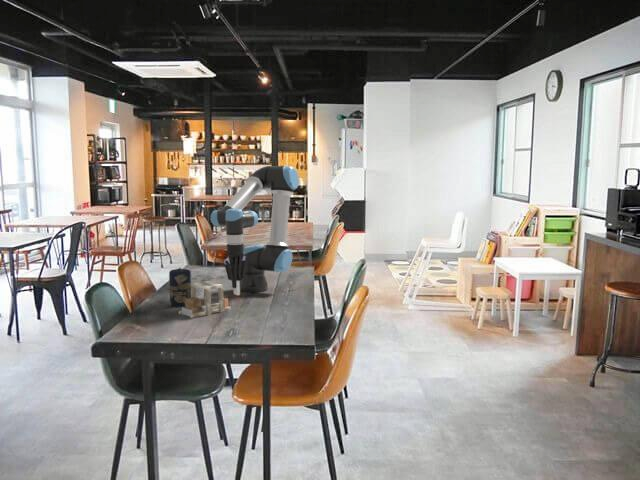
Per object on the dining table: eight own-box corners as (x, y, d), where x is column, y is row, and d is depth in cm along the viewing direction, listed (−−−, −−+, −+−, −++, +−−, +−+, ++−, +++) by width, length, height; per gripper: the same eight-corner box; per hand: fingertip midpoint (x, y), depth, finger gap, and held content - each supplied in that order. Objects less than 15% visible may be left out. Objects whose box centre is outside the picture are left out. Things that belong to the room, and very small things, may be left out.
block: (194, 309, 246) (194, 296, 246) (201, 311, 243) (200, 298, 242) (185, 311, 243) (185, 298, 242) (192, 313, 240) (191, 300, 239)
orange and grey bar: (221, 305, 258) (221, 296, 258) (231, 308, 253) (230, 299, 253) (181, 313, 243) (181, 304, 243) (191, 316, 238) (190, 307, 238)
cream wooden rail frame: (226, 305, 263) (225, 277, 262) (242, 309, 255) (242, 281, 253) (177, 315, 245) (176, 285, 243) (193, 320, 236) (192, 290, 235)
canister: (170, 309, 255) (168, 270, 252) (169, 304, 264) (168, 266, 262) (192, 308, 257) (191, 269, 255) (190, 303, 266) (189, 265, 264)
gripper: (241, 240, 263) (242, 290, 267) (218, 244, 254) (220, 295, 258) (251, 242, 258) (253, 293, 262) (228, 246, 249) (230, 298, 252)
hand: (236, 294), depth 260 cm, fingers closed
